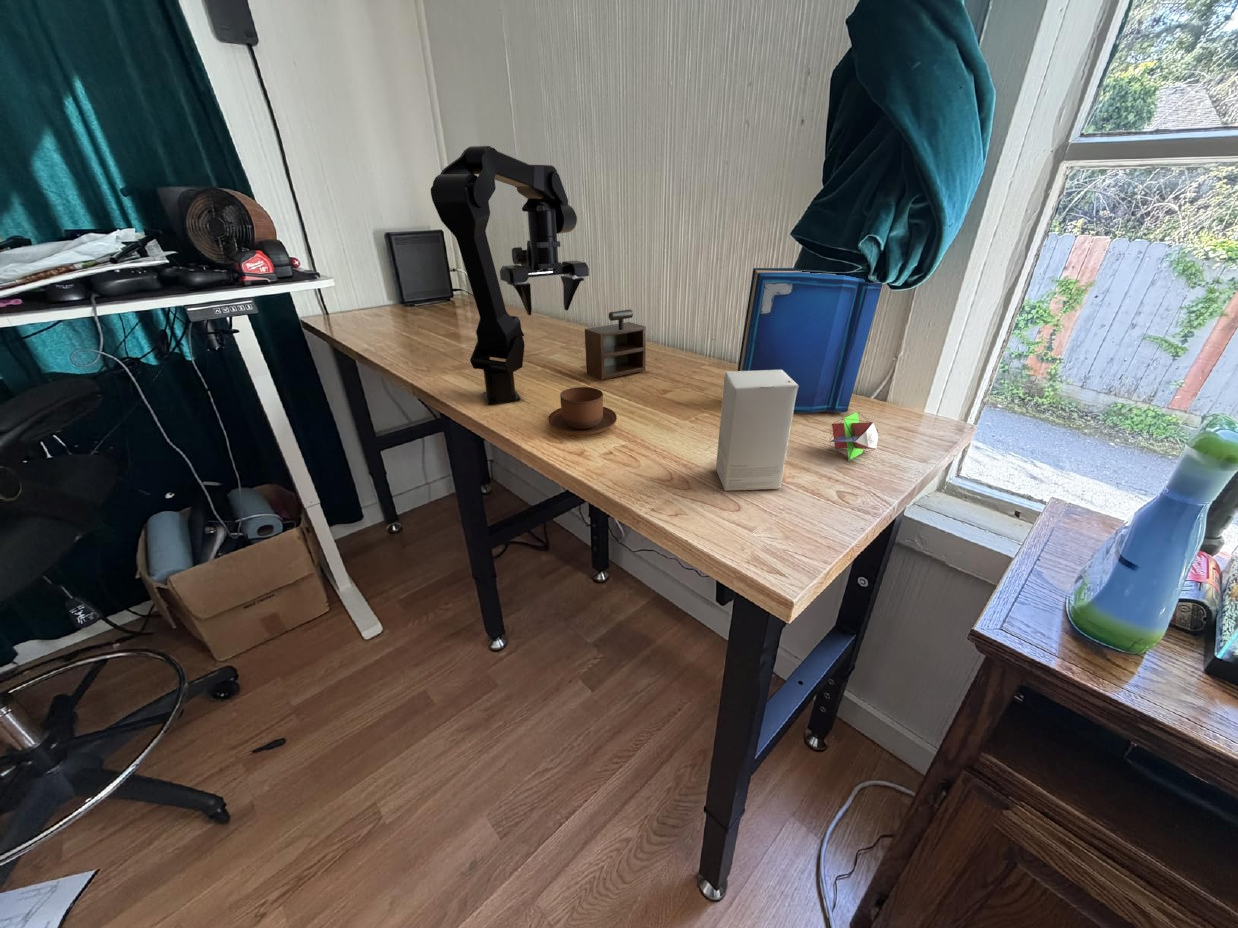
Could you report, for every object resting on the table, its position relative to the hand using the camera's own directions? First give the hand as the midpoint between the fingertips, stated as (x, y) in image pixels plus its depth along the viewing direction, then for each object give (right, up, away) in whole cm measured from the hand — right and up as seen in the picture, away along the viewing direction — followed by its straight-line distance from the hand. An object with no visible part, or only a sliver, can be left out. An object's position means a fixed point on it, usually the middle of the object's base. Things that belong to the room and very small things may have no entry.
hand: (548, 312), depth 110 cm
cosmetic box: (+34, -36, -39) cm, 63 cm away
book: (+49, -23, -15) cm, 56 cm away
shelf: (+13, -5, +2) cm, 14 cm away
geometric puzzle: (+52, -32, -31) cm, 69 cm away
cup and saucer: (+9, -27, -23) cm, 37 cm away
